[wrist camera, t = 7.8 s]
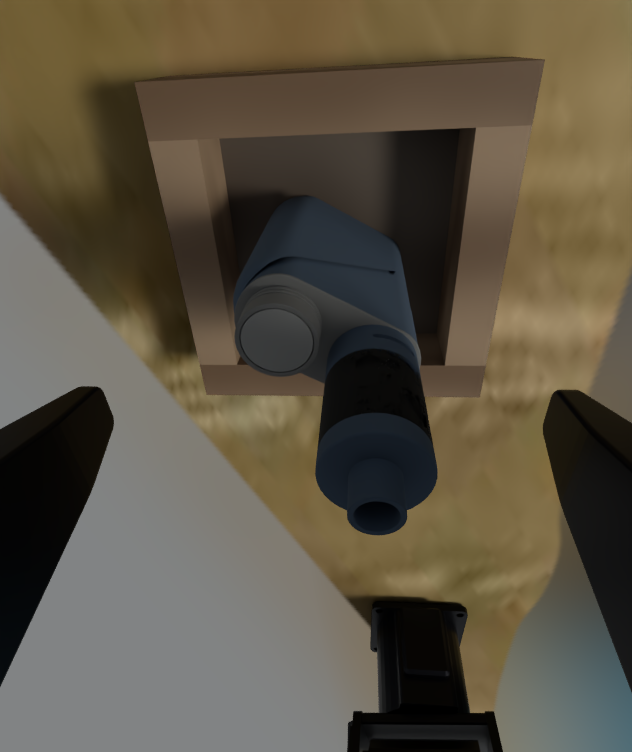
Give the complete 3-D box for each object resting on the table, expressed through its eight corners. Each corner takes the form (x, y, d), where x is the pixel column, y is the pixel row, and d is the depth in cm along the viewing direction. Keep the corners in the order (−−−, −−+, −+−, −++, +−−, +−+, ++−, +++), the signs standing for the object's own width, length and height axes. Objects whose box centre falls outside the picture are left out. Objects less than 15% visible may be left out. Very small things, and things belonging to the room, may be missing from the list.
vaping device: (378, 301, 19) (397, 575, 9) (260, 240, 18) (139, 477, 8) (415, 246, 18) (482, 501, 8) (288, 177, 16) (183, 372, 7)
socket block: (465, 355, 21) (479, 397, 18) (224, 355, 22) (206, 394, 19) (514, 56, 14) (544, 60, 12) (170, 76, 16) (134, 82, 13)
